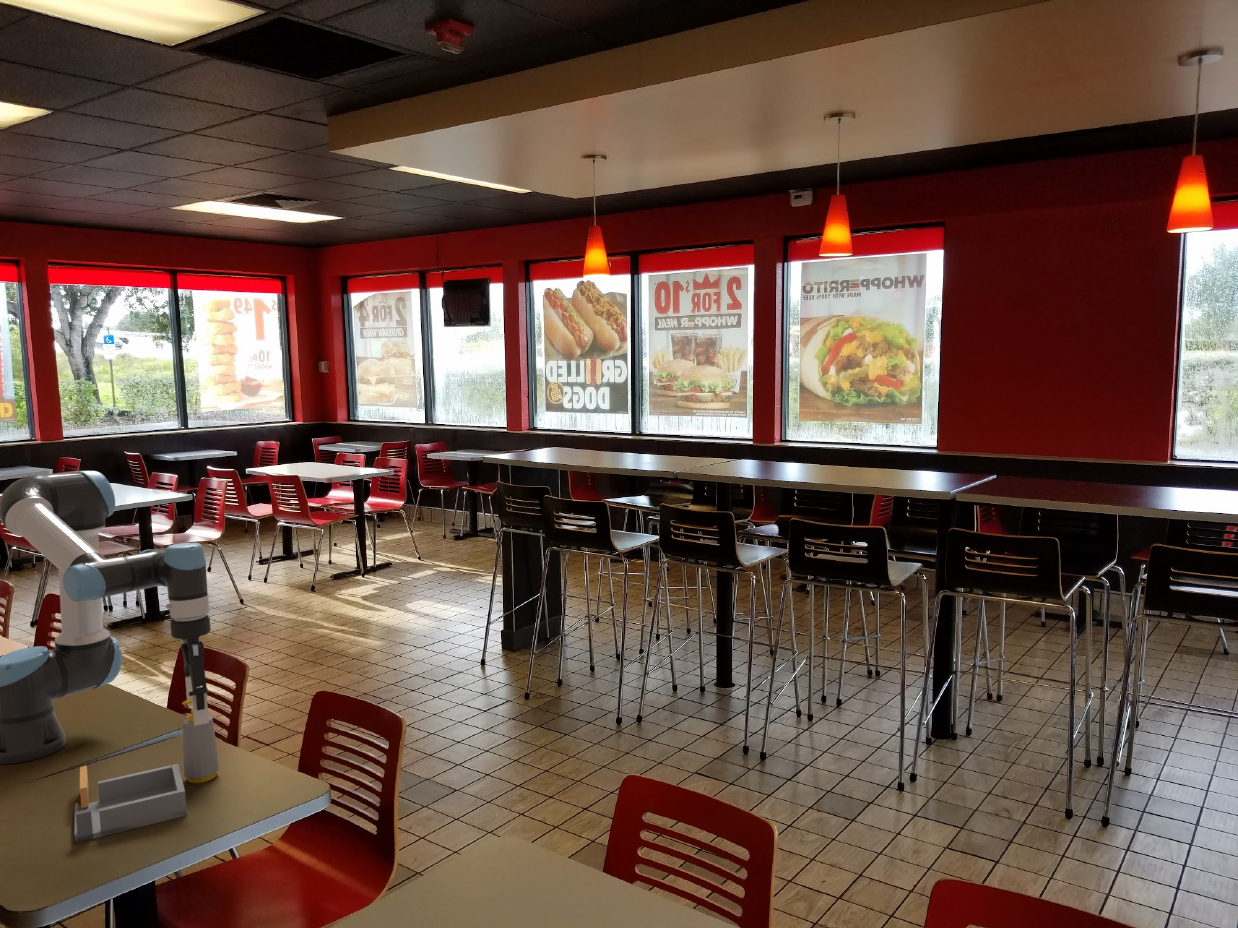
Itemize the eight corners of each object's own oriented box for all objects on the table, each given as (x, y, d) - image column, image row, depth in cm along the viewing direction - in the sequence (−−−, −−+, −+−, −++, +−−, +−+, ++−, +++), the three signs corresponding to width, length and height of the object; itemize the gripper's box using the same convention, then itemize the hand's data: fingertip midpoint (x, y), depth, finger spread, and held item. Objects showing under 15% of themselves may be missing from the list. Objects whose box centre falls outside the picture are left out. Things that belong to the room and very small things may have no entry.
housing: (75, 810, 176) (73, 784, 175) (179, 786, 185) (177, 761, 185) (75, 843, 163) (72, 815, 162) (186, 815, 173) (184, 788, 172)
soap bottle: (176, 782, 187) (170, 700, 186) (202, 768, 194) (196, 689, 192) (201, 786, 185) (195, 704, 183) (226, 772, 191) (221, 692, 190)
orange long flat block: (81, 785, 184) (79, 766, 184) (88, 783, 185) (86, 765, 184) (81, 808, 174) (79, 788, 174) (88, 806, 175) (86, 787, 174)
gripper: (165, 608, 195) (173, 701, 197) (175, 632, 173) (184, 736, 175) (202, 602, 199) (210, 694, 200) (216, 625, 177) (225, 727, 179)
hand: (198, 714), depth 188 cm, fingers open, 13 cm apart
